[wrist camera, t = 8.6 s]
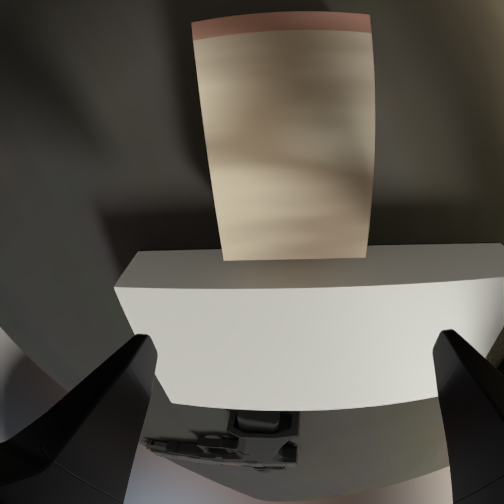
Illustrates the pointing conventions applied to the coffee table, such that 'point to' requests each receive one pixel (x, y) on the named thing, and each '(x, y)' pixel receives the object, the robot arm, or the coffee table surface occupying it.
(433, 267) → the panel
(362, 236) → the brown and pink block
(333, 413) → the coffee table surface
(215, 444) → the handgun
